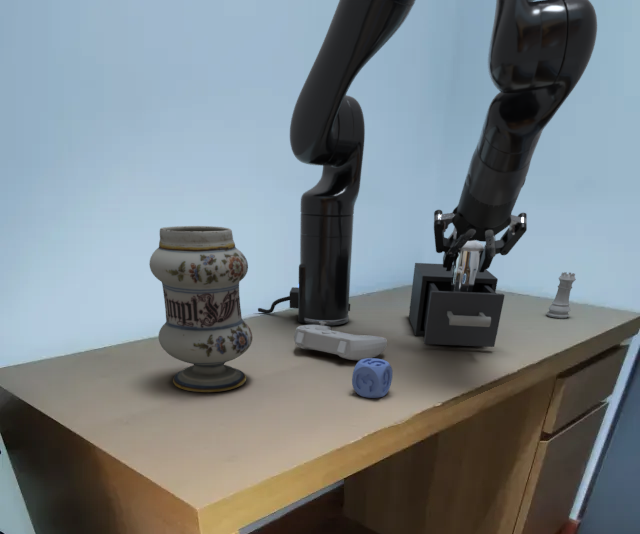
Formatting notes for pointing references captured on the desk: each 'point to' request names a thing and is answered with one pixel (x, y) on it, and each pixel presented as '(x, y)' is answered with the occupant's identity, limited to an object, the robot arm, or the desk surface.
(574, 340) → the desk surface
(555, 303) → the rook chess piece
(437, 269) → the small filing cabinet
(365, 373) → the decorative dice
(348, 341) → the game controller
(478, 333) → the drawer
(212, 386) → the apothecary jar
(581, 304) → the desk surface
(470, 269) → the milkshake
